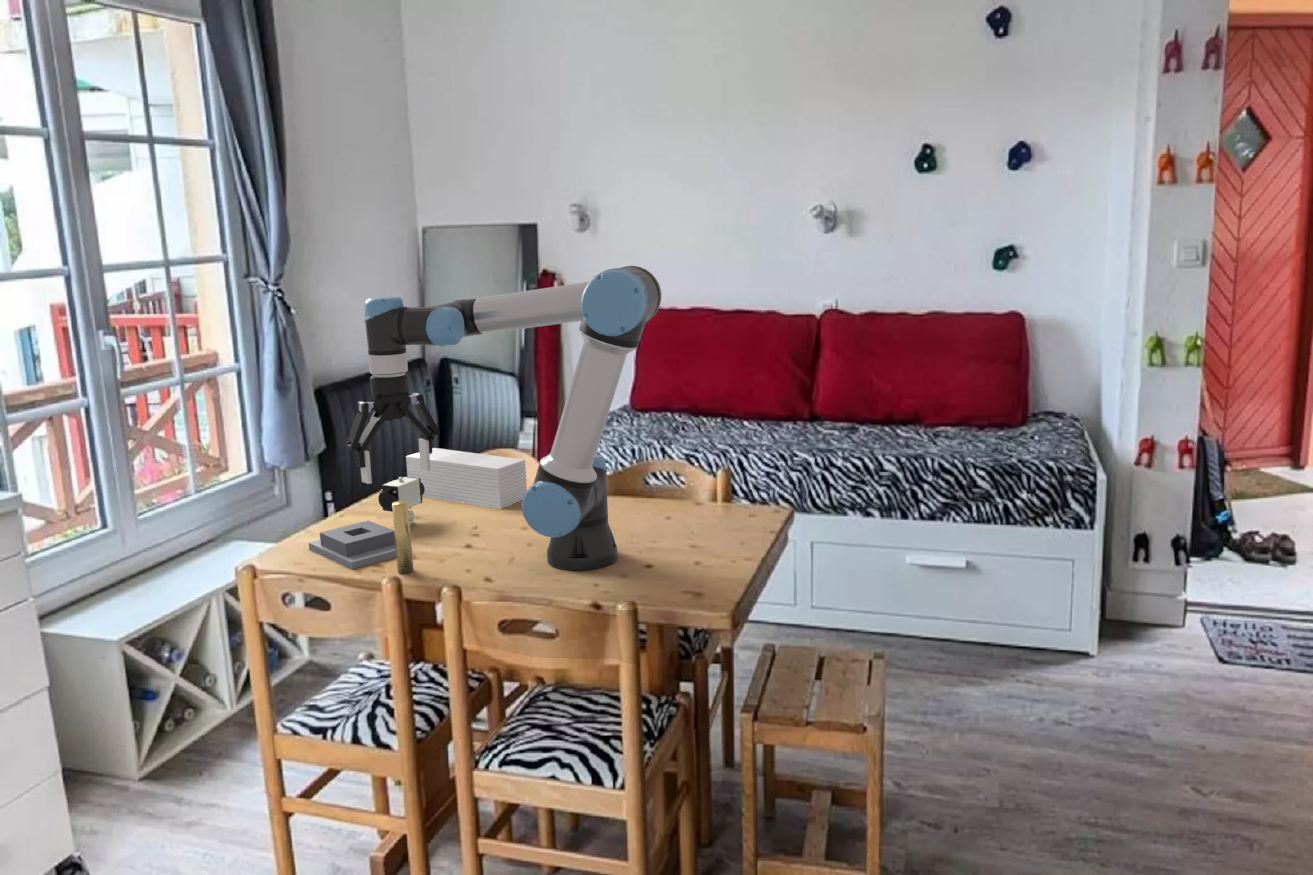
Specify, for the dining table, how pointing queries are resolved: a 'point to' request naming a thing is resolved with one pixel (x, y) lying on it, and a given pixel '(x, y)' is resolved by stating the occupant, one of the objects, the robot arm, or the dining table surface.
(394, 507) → the brass pin
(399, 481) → the pneumatic valve
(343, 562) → the grey socket base
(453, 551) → the dining table surface
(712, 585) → the dining table surface
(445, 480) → the stack of papers
